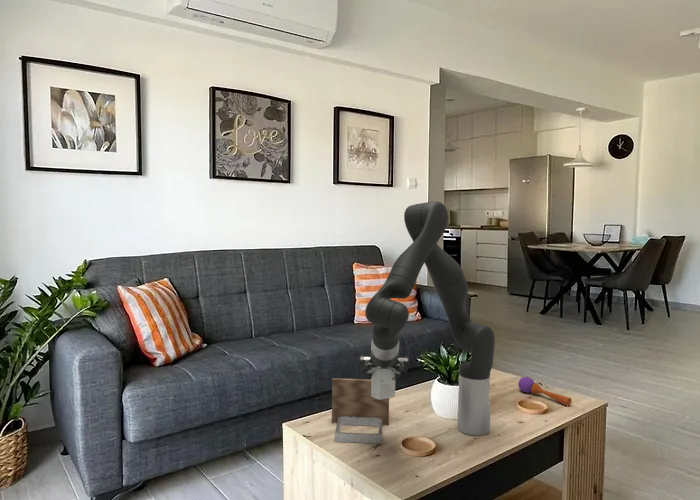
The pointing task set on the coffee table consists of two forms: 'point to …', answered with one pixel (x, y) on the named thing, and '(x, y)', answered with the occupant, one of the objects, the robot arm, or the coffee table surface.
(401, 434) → the coffee table surface
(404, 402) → the coffee table surface
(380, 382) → the skincare box
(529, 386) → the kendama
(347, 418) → the grey rectangular frame
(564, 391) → the coffee table surface
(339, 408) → the wall board
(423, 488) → the coffee table surface
